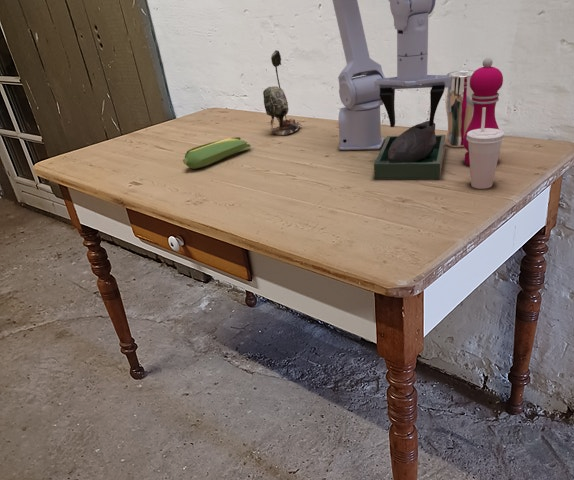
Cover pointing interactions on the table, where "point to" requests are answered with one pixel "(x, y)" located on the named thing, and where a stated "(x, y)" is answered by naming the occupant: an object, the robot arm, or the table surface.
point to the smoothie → (484, 154)
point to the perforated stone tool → (413, 144)
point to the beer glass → (458, 107)
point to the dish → (410, 163)
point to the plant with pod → (278, 104)
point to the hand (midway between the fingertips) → (411, 125)
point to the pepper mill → (483, 98)
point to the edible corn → (213, 152)
